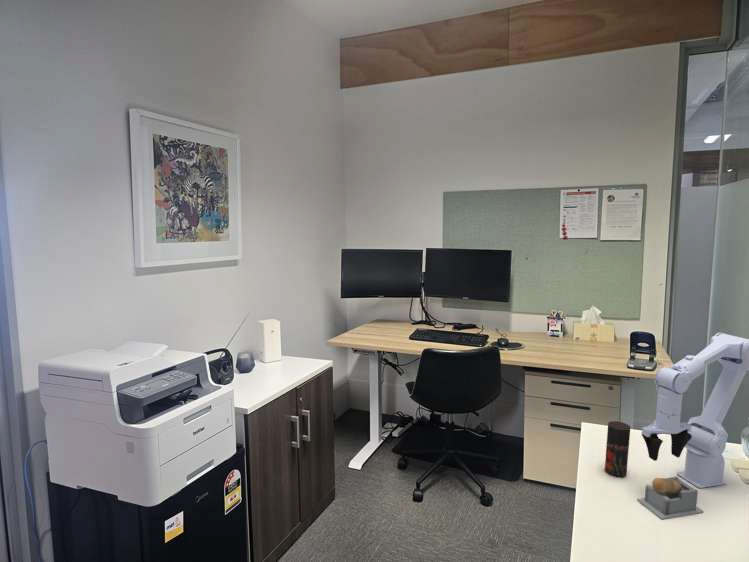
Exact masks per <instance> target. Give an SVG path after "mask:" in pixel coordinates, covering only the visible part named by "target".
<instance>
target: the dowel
mask: <svg viewBox="0 0 749 562" xmlns="http://www.w3.org/2000/svg"><path fill="white" fill-rule="evenodd" d="M651 484H652V485H651V486H653V488H654V490H655V491H656V492H658V493H671V494H679V493H680V491H682V486H681V483H680V482H679V481H678V480H676V479H665V477H664V478H662V477H661V478H660V477H654V478H653V479H652V483H651Z"/></svg>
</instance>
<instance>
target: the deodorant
mask: <svg viewBox="0 0 749 562" xmlns="http://www.w3.org/2000/svg"><path fill="white" fill-rule="evenodd" d="M630 434H631V426H630V425H629V424H627V423H625V422H622V421H615V420H614V421H613V420H612V421H608V423H607V434H606V436H607V437H606V449H605V461H604V472H605V473H606V475H608V476H610V477H614V478H618V479H623V478H626V477H627V474H628V461H629V449H630V436H631V435H630Z"/></svg>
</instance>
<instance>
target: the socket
mask: <svg viewBox="0 0 749 562" xmlns="http://www.w3.org/2000/svg"><path fill="white" fill-rule="evenodd" d="M664 478H665V477H664ZM665 479H676V480H678V481H679V482H680V483H681V486H682V491H680V493H679V494H671V493H658V492H656V491H655V490H654V488H653V486H652V485H651V484H646V485H645V492H644V497H643V498H637V500H636V501H637V502H638V503H639V504H641V505H642V506H644V507H645V508H646V509H647V510H648V511H650V512H651V513H652V514H654V516H656V517H658V519H660V520H669V519H675V518H678V517H680V518H681V517H685V516H691V515H698V514H703V513H704V510H703V509H702V508H700V507H698V506H697V504H698V503H697V501H698V494H699V490H698V489H696V488H694V487H692V486H690V485H689V484H688V483H686V482H684V481H683V480H681V479H680V477H677V476H672V477H666V478H665Z"/></svg>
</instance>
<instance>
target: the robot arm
mask: <svg viewBox="0 0 749 562" xmlns="http://www.w3.org/2000/svg"><path fill="white" fill-rule="evenodd" d="M715 361H718V363H720V364H721V365H722V371H721V373H720V375H719V376H718V379H717V381H716V382H715V385H714V387H713V389H712V391H711V394H710V395H709V397H708V400H707V401H706V403H705V406H704V408H703V409H702V410H703V411H702V412H701V414H700V415H698V416H694V417H690V418H689V420H688V422H681V415H682V406H683V405H682V404H683V394H684V393H685V392H686V391H687V390H688V389H689V387H690V385H691V384H692V382H693V380H695V379H696V378H698V377H699V376H701V375H702V374H704V373H705V372H706V366H708V365H710V364H712V363H714V362H715ZM747 372H749V339H748V338H744V337H740V336H736V335H731V334H727V333H724V332H717V333H716V334H714V335H713V336H711V338H710V341H709V344H708V345H707V346H706V347H704V349H702V350H700V352H698V353H697V354H696V355H692V354H691V355H686V356H685V357H684V358H682V359H681V360H679V361H677V362H676V363H674V364H673V365H671V366H669V367H667V366H663V367H661V368H660V369H658V370H657V371H656V373H655V375H654V377H653V381H654V384H655V386H656V390H655V391H656V393H657V402H656V403H657V404H656V413H655V414H656V415H655V420H653V423H651V424H649V425H647V426H645V427H644V426H643V427H642V429H641V436H642V438H643V441H644V442H645V445H646V447H647V453H648V457H649V458H650V459H651V460H652V461H654V462H656V461H658V457H659V451H660V448H661V446H662V444H663V442H664V440H663V439H661V438H659V436H658V435H664V434H665V435H667V434H668V435H670V438H671V445H670V446H671V448H670V449H671V451H670V452H671V455H672V456H674V457H675V458H678V459H679V458H680V457H681V455H682V453H683V450H684V448H686V452H685V453H686V454H685V463H684V470H683V471H677V472H676V475H678V476H679V477H681V478H683V479H684V480H686V481H688V482H689V483H690V484H692V485H693V486H695V487H697V488H699V489H701V488H702V489H703V488H708V487H715V486H721V485H726V482H725V481H724V471H725V465H726V463H725V458H724V456H723V453H724V452H725V449H726V446H727V439H728V437H729V434H728V433H727V431H726V429H725V427H724V426H723V425H722V424H723V421H724V420H725V417H726V415H727V413H728V411H729V409H730V407H731V405H732V403H733V400H734V398H735V397H736V393H737V392H738V390H739V387H740V385H741V383H742V381H743V379H744V377H745V375H746V373H747Z"/></svg>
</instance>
